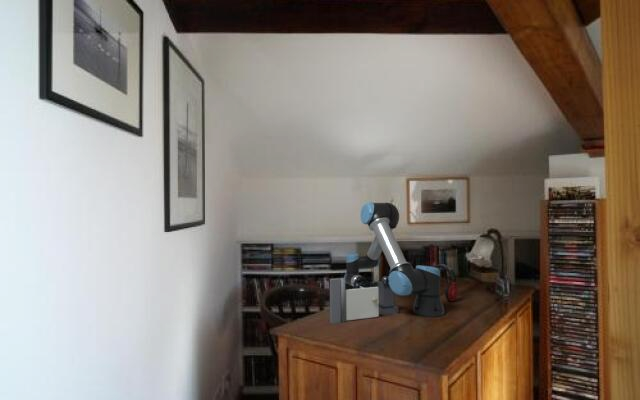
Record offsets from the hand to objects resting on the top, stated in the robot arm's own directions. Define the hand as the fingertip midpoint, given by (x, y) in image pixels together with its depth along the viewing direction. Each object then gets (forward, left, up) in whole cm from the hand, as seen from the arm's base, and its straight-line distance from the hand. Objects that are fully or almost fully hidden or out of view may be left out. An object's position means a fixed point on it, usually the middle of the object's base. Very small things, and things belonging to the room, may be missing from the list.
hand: (377, 290), depth 195 cm
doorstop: (-6, +6, -9) cm, 13 cm away
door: (0, +24, -8) cm, 25 cm away
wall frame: (+10, +32, -9) cm, 34 cm away
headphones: (-29, -31, -9) cm, 43 cm away
